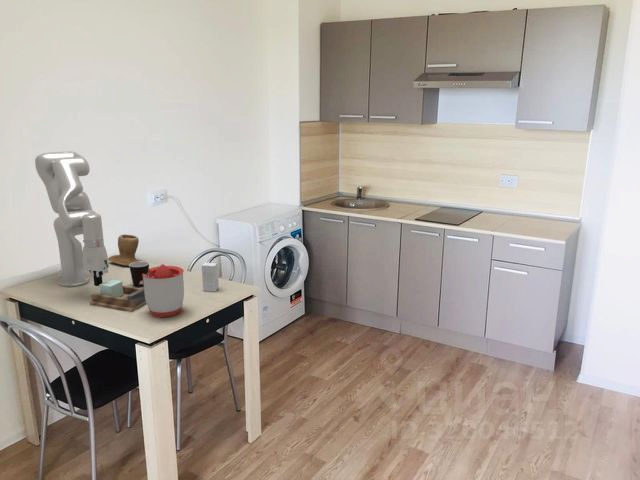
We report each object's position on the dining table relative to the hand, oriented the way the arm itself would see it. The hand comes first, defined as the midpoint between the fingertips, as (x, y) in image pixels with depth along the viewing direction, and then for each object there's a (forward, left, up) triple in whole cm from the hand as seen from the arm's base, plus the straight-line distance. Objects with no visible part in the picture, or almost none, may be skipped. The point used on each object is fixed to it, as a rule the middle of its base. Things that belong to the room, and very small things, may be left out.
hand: (98, 284), depth 227 cm
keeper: (+6, 0, -4) cm, 8 cm away
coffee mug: (+5, +21, -6) cm, 23 cm away
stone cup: (-23, +44, -6) cm, 50 cm away
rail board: (+12, 0, -6) cm, 14 cm away
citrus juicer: (+34, -3, -6) cm, 35 cm away
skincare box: (+38, +26, -6) cm, 47 cm away
